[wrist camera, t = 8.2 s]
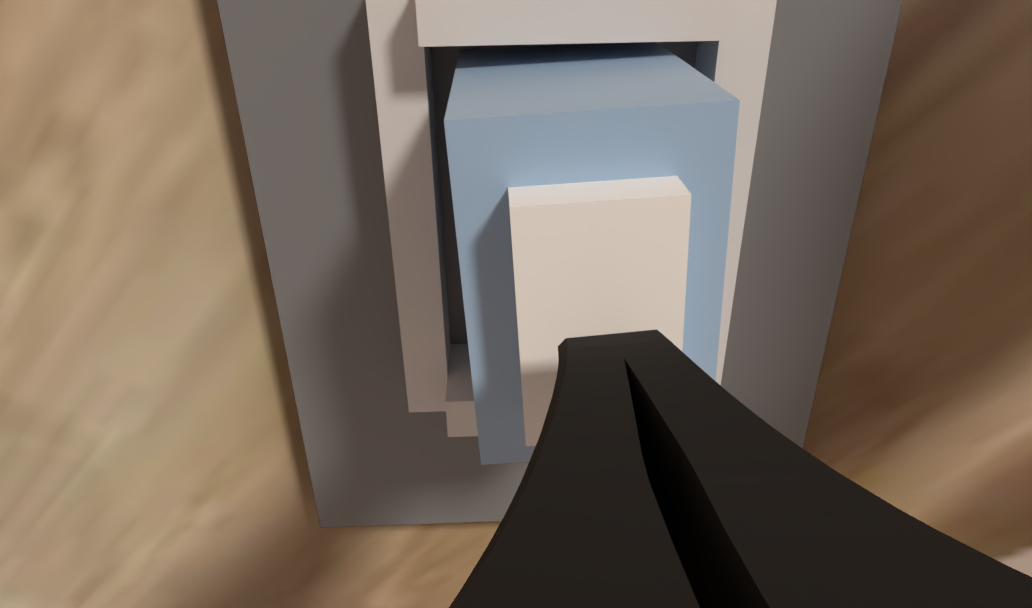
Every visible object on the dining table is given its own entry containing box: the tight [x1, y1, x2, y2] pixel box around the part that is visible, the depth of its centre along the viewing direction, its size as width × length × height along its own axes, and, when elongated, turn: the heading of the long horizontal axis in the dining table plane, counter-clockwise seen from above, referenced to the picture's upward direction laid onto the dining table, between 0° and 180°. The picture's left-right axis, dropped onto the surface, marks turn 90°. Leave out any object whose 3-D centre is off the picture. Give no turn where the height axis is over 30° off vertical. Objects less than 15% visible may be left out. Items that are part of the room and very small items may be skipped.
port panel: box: [217, 0, 903, 528], centre depth 16 cm, size 14×20×4 cm
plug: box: [444, 42, 740, 465], centre depth 13 cm, size 4×6×7 cm, turn 4°
